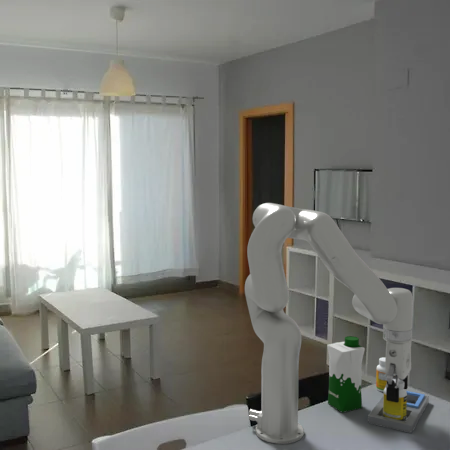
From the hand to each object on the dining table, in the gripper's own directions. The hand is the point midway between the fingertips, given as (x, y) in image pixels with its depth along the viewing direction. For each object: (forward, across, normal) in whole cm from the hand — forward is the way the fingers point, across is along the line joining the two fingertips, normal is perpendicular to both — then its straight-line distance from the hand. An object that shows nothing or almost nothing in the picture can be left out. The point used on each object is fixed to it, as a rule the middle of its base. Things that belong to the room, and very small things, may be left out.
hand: (397, 394), depth 153 cm
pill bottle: (+7, -1, +1) cm, 7 cm away
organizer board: (+7, +5, +1) cm, 9 cm away
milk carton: (+7, +1, +16) cm, 17 cm away
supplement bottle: (+8, +19, +9) cm, 23 cm away
